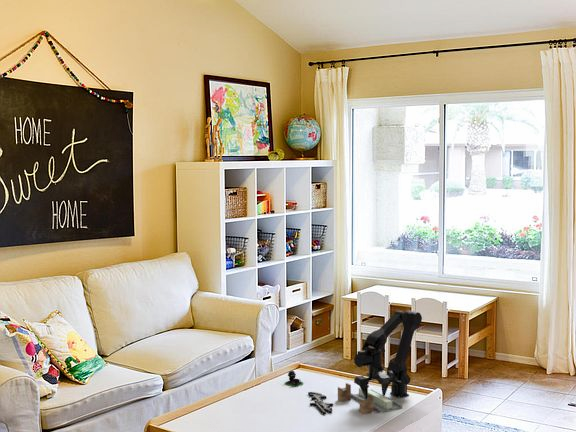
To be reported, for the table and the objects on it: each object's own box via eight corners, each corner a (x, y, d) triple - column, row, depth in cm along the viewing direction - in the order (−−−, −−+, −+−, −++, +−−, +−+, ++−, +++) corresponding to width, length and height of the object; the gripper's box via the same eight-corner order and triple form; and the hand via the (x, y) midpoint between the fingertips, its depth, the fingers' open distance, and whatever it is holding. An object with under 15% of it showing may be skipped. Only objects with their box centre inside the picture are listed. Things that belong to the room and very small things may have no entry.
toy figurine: (288, 388, 342) (288, 376, 341) (280, 382, 351) (280, 370, 350) (307, 385, 346) (307, 373, 345) (298, 379, 355) (298, 368, 354)
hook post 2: (369, 410, 310) (369, 394, 310) (373, 412, 308) (373, 396, 307) (359, 412, 308) (359, 396, 308) (363, 414, 305) (363, 398, 305)
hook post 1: (347, 398, 326) (347, 383, 326) (350, 400, 324) (350, 384, 323) (337, 399, 324) (337, 384, 324) (341, 401, 321) (341, 386, 321)
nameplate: (300, 392, 331) (321, 390, 334) (300, 395, 331) (321, 393, 334) (318, 412, 305) (340, 410, 307) (318, 416, 305) (340, 414, 307)
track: (371, 392, 334) (371, 389, 334) (402, 408, 313) (402, 404, 313) (349, 396, 329) (349, 393, 328) (379, 412, 307) (379, 409, 307)
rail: (358, 394, 330) (358, 387, 330) (364, 393, 331) (364, 386, 331) (386, 409, 310) (386, 402, 310) (392, 407, 312) (392, 401, 311)
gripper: (367, 370, 308) (367, 406, 309) (403, 364, 316) (403, 399, 318) (353, 364, 318) (353, 398, 319) (388, 358, 326) (388, 392, 328)
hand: (375, 397), depth 321 cm, fingers open, 9 cm apart
